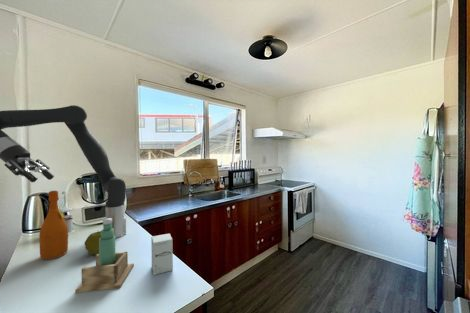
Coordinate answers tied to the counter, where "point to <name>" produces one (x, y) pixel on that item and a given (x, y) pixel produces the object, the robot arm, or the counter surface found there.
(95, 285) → the U stand
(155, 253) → the supplement box
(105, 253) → the green bottle
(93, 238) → the apple
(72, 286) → the counter surface
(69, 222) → the french press
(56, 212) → the wine bottle
